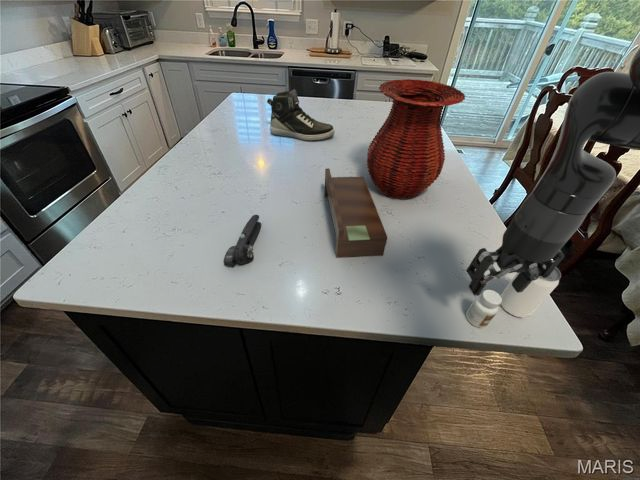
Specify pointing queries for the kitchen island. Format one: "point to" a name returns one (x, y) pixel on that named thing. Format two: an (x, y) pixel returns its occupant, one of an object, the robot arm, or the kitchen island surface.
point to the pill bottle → (484, 308)
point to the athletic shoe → (295, 119)
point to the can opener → (244, 244)
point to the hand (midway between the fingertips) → (495, 290)
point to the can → (529, 294)
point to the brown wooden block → (354, 217)
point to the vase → (410, 137)
